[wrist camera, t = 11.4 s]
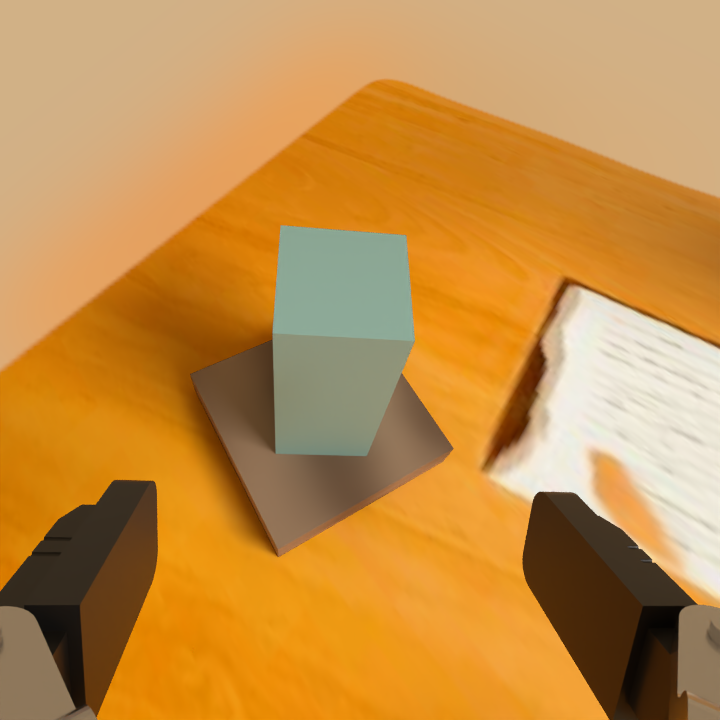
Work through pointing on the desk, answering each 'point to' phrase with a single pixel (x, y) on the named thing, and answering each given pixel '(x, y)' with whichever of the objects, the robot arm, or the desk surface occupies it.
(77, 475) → the desk surface
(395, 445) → the base
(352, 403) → the pillar
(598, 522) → the robot arm
